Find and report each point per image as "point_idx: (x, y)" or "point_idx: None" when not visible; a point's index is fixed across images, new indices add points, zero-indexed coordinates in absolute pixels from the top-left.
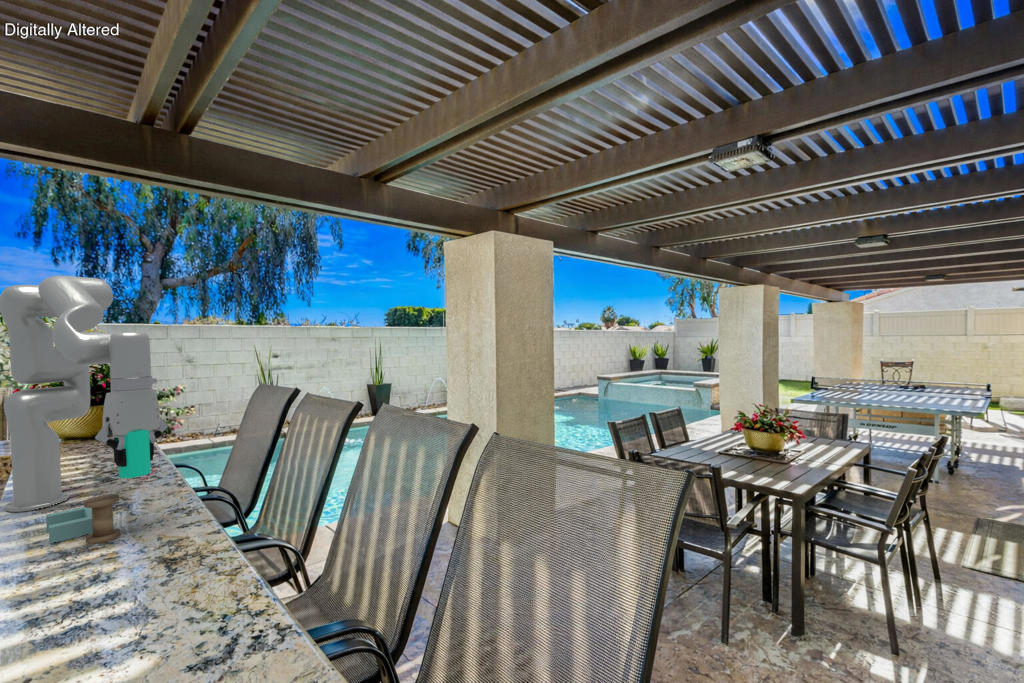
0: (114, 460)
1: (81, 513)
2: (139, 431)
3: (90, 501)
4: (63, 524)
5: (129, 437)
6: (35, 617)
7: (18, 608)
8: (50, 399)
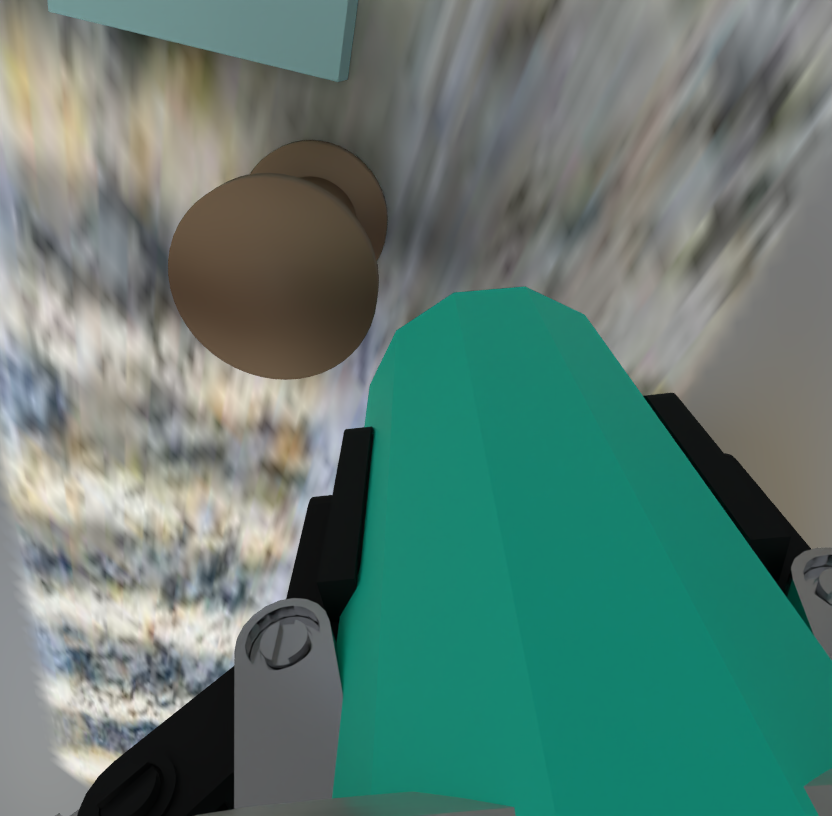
0: (309, 512)
1: None
2: None
3: (203, 292)
4: (125, 16)
5: None
6: (84, 649)
7: (46, 586)
8: None
